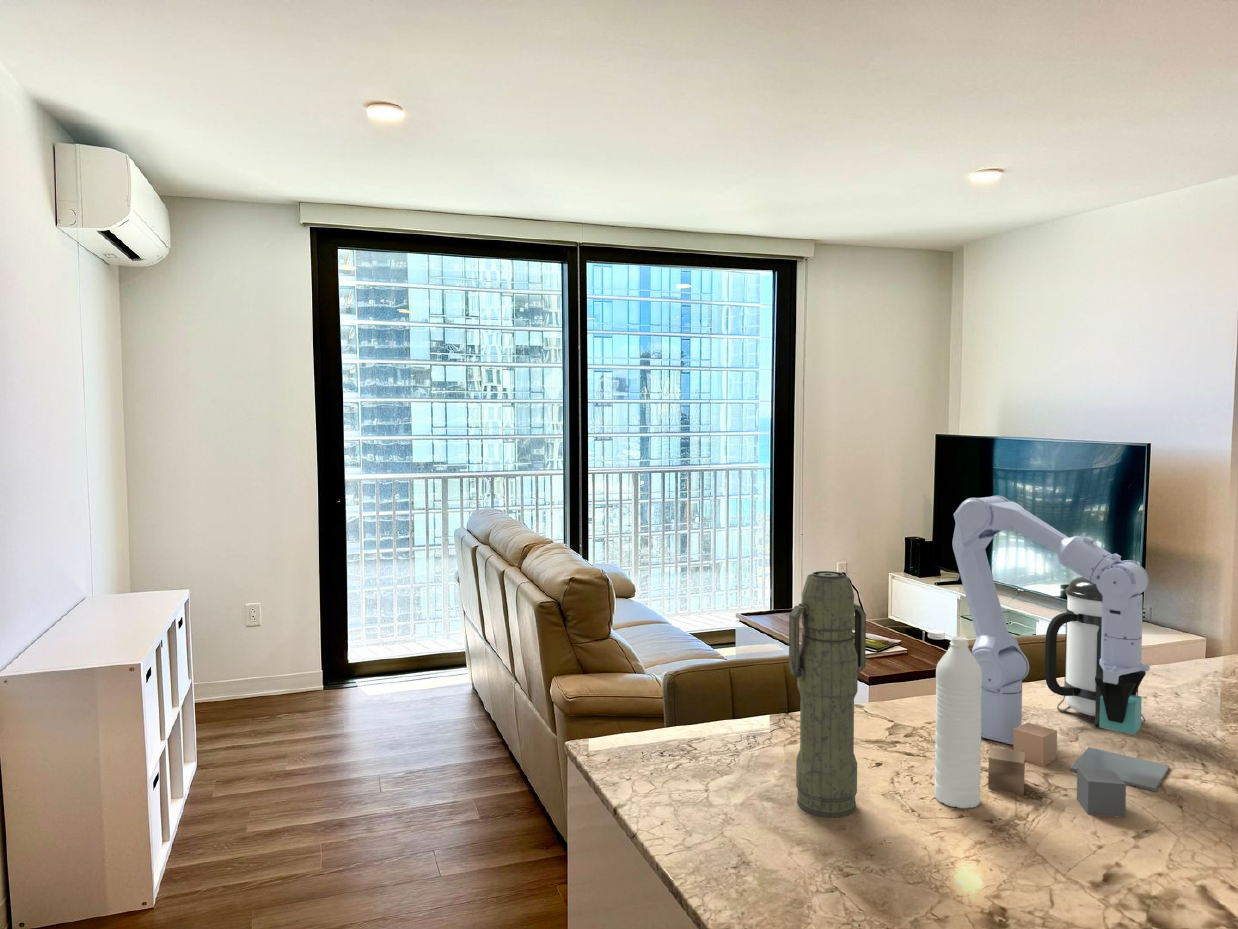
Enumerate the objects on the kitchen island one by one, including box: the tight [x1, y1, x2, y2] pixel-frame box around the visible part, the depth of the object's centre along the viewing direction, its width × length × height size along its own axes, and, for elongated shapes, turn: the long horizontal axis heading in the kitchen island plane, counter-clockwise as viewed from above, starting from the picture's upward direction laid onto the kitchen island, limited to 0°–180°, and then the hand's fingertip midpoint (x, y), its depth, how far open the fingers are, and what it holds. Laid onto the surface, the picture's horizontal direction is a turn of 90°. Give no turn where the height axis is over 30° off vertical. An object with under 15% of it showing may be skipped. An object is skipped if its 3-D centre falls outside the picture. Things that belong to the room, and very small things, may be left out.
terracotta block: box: [1012, 722, 1058, 767], centre depth 143 cm, size 5×5×5 cm
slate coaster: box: [1069, 747, 1170, 792], centre depth 138 cm, size 12×12×1 cm
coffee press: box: [1044, 576, 1146, 729], centre depth 162 cm, size 17×16×30 cm
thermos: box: [788, 570, 867, 818], centre depth 125 cm, size 9×12×35 cm
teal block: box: [1099, 695, 1143, 735], centre depth 137 cm, size 5×5×5 cm
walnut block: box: [987, 746, 1026, 796], centre depth 132 cm, size 5×5×5 cm
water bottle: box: [927, 629, 982, 809], centre depth 128 cm, size 9×6×25 cm
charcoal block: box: [1076, 768, 1127, 818], centre depth 124 cm, size 5×5×5 cm
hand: (1119, 717), depth 138 cm, fingers closed on teal block, 5 cm apart
